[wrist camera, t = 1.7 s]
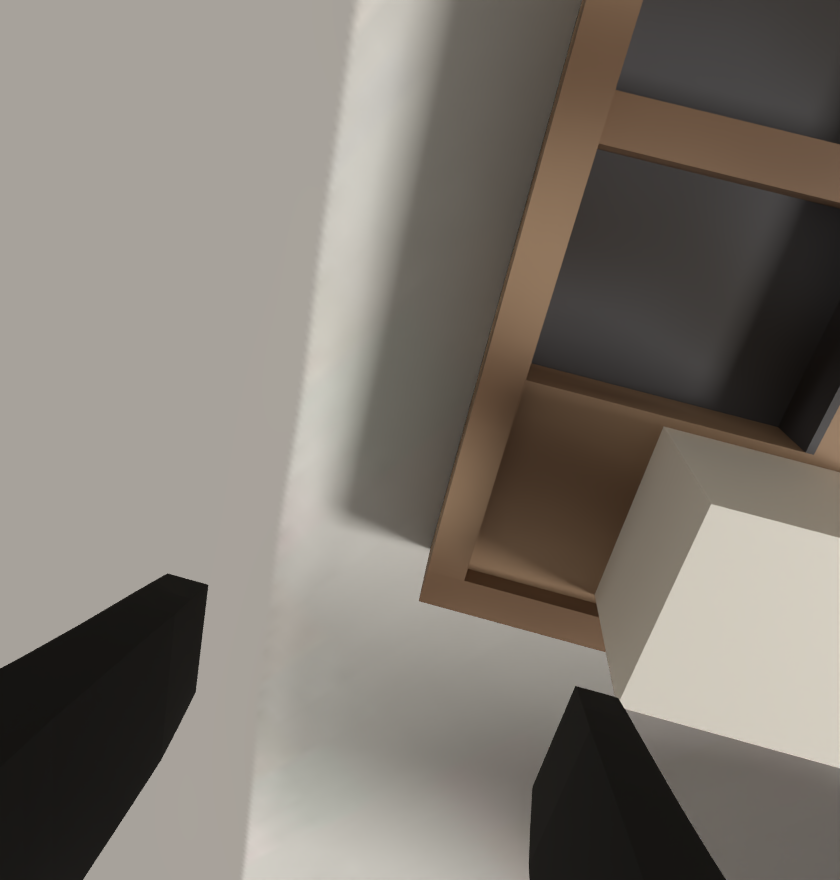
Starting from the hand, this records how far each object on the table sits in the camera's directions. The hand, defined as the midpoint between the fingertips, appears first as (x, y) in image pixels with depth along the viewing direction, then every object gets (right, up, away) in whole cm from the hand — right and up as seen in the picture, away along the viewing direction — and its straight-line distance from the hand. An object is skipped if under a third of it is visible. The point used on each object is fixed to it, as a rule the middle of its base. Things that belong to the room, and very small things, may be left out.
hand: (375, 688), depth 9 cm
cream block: (+8, +1, +7) cm, 11 cm away
